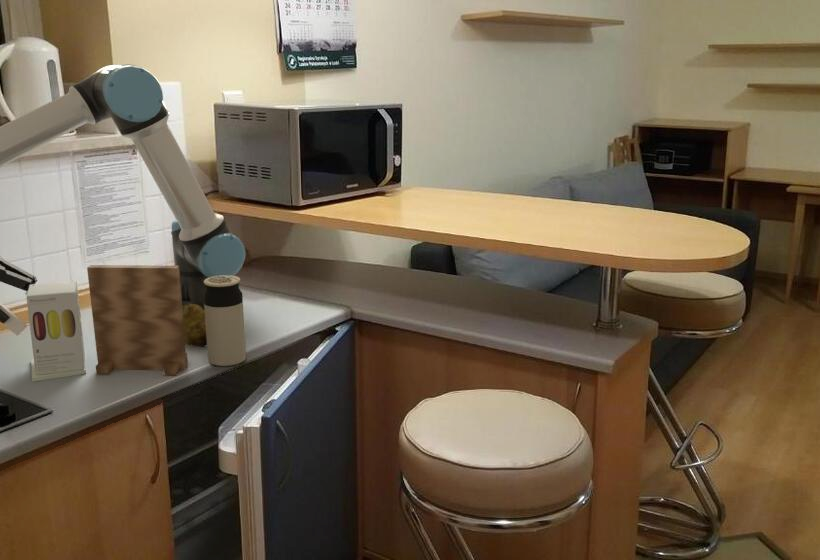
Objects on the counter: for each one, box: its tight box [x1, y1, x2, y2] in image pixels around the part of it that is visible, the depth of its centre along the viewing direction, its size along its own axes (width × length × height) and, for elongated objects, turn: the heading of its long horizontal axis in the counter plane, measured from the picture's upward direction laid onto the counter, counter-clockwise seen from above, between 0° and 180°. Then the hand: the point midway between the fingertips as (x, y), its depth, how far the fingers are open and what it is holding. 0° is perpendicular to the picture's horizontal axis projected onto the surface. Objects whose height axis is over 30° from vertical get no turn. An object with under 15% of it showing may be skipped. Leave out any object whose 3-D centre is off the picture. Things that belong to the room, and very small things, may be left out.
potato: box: [182, 304, 207, 348], centre depth 180 cm, size 8×13×8 cm, turn 16°
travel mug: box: [204, 275, 247, 367], centre depth 167 cm, size 8×8×18 cm
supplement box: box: [26, 280, 86, 375], centre depth 163 cm, size 10×9×17 cm
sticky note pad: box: [30, 357, 87, 383], centre depth 165 cm, size 10×12×1 cm
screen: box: [86, 264, 188, 377], centre depth 162 cm, size 18×8×22 cm, turn 89°
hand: (38, 319), depth 163 cm, fingers open, 13 cm apart
